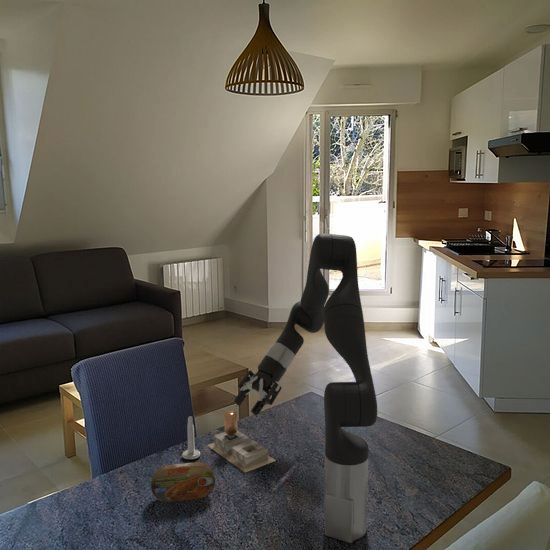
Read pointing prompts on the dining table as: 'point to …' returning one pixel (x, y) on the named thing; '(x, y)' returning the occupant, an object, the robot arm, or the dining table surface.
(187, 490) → the tin
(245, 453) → the white peg insertion board
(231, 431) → the copper-coloured round peg
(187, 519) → the dining table surface
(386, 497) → the dining table surface
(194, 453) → the screw
